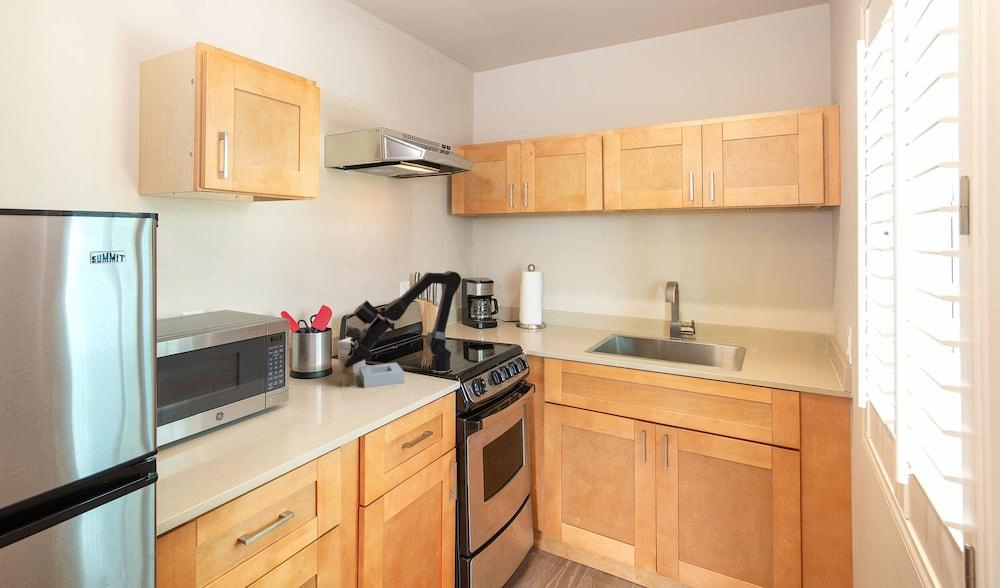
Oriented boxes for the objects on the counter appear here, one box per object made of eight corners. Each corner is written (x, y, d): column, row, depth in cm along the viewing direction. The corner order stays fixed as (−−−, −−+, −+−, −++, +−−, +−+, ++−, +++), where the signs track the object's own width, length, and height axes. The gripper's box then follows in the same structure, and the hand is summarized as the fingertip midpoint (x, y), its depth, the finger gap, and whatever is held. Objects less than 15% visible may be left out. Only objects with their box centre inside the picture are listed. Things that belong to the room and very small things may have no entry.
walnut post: (352, 382, 175) (351, 355, 174) (354, 385, 172) (352, 357, 170) (341, 383, 174) (339, 356, 172) (342, 386, 170) (340, 359, 169)
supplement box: (352, 367, 195) (350, 336, 193) (366, 369, 191) (364, 338, 190) (338, 372, 188) (336, 340, 186) (352, 374, 185) (351, 342, 183)
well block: (397, 372, 186) (396, 362, 186) (404, 382, 174) (404, 371, 173) (359, 377, 181) (359, 367, 180) (364, 388, 168) (364, 377, 168)
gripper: (354, 314, 180) (325, 346, 177) (360, 322, 163) (328, 357, 160) (377, 332, 184) (348, 364, 181) (385, 342, 167) (354, 377, 164)
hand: (344, 365), depth 172 cm, fingers closed on walnut post, 4 cm apart
